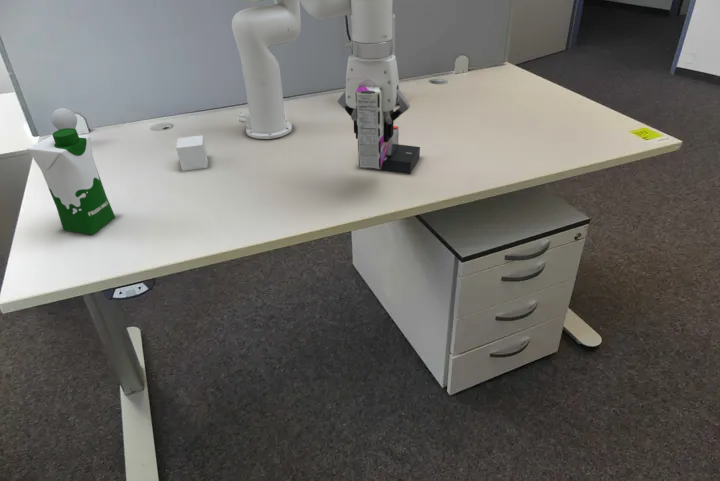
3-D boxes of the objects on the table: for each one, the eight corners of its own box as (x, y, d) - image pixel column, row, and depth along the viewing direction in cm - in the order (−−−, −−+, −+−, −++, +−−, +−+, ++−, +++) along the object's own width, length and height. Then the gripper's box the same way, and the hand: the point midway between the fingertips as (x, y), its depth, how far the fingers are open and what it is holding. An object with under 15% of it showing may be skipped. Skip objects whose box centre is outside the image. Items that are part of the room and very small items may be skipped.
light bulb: (89, 144, 140) (76, 108, 134) (66, 151, 137) (53, 114, 131) (79, 138, 143) (67, 103, 138) (57, 145, 140) (44, 109, 134)
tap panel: (360, 168, 123) (360, 156, 122) (373, 151, 131) (373, 139, 130) (409, 175, 120) (409, 163, 118) (420, 157, 128) (420, 145, 126)
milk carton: (93, 238, 102) (56, 143, 90) (55, 232, 104) (15, 138, 93) (122, 215, 109) (91, 124, 97) (86, 210, 111) (52, 120, 100)
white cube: (207, 167, 126) (202, 144, 123) (182, 171, 125) (176, 148, 122) (207, 157, 131) (202, 135, 128) (182, 160, 130) (177, 138, 127)
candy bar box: (367, 146, 116) (365, 72, 107) (389, 147, 116) (389, 73, 106) (356, 168, 107) (354, 90, 98) (380, 170, 107) (380, 91, 97)
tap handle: (391, 157, 121) (391, 135, 118) (383, 156, 122) (383, 134, 119) (398, 146, 126) (398, 126, 123) (390, 145, 127) (390, 125, 124)
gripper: (323, 51, 98) (329, 140, 109) (411, 56, 93) (408, 150, 104) (337, 41, 104) (341, 127, 114) (421, 46, 99) (417, 135, 109)
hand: (373, 137), depth 109 cm, fingers closed on candy bar box, 5 cm apart
